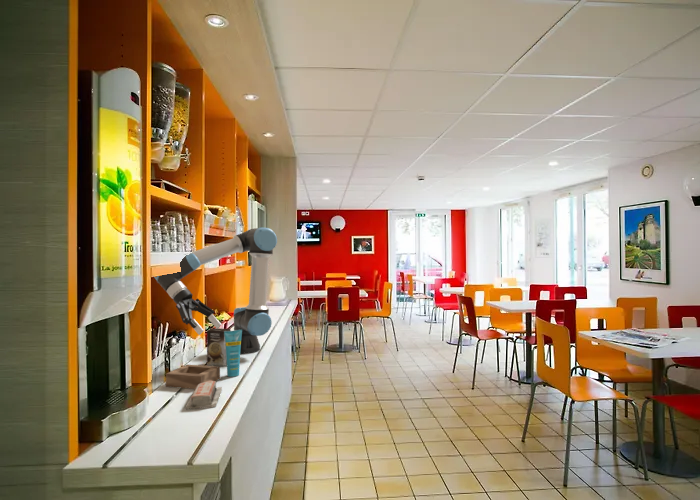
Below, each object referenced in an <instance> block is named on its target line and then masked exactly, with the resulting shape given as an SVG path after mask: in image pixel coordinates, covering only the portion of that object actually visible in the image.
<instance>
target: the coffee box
mask: <svg viewBox="0 0 700 500" xmlns="http://www.w3.org/2000/svg"><path fill="white" fill-rule="evenodd" d="M224 331H232V330H231V328H218V329H217V328H216V327H215V328H210V329H208V330H206V366H217V367H225V366H227V357H226V343H225V335H224Z"/></svg>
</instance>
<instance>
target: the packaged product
mask: <svg viewBox="0 0 700 500" xmlns="http://www.w3.org/2000/svg"><path fill="white" fill-rule="evenodd" d="M222 391H223V386H218V387H217V381H212V380H211V381H207V382H203V383H200V384H198V385H197V387H196V389H194V391H193V393H192V394H191V396H190V398H189V401H187V404H186V406H185V410H196V409H198V410H199V409H209V408H216V407H217V404H218V402H219V399H220V398H221V395H222ZM220 394H221V395H220ZM219 397H220V398H219Z"/></svg>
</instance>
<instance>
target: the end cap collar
mask: <svg viewBox="0 0 700 500" xmlns="http://www.w3.org/2000/svg"><path fill="white" fill-rule="evenodd" d="M218 379H219V380H220V379H221V366H218V365H203V364H202V365H201V364H185V365H183V366H181V367H179V368H176V369H173V370H171V371H169V372H166V374H165V387H166V388H167V387H168V388H177V387H181V388H180V389H193V390H195V389H196V387H197V385H198V384H200V383H203V382H207V381H211V380H212V381H216V382H217V381H218Z"/></svg>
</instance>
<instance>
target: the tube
mask: <svg viewBox="0 0 700 500" xmlns="http://www.w3.org/2000/svg"><path fill="white" fill-rule="evenodd" d="M224 335H225V343H226V357H227V365H226V374H227V375H226V376H227V377H230V378H234V377H238V376H239V375H240V366H241V365H240V362H241V361H240V360H241V354H240V348H241V336H242V330H235V331H234V330H231V331H224Z"/></svg>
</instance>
